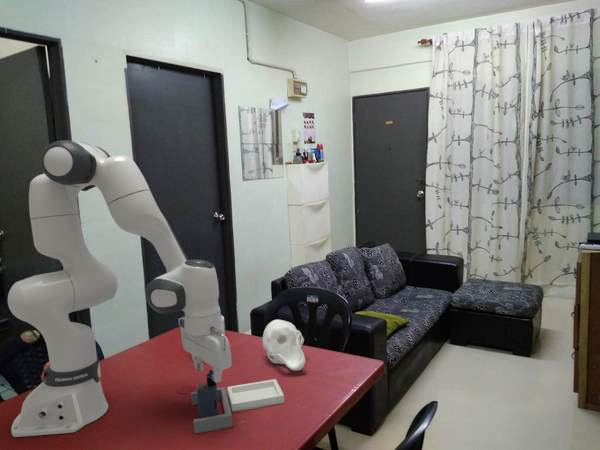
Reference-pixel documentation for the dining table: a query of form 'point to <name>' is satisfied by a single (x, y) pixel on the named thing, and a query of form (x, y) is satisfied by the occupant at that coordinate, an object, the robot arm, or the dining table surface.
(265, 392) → the tray
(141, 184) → the robot arm
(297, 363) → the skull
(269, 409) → the dining table surface
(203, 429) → the bay
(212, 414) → the vaping device
